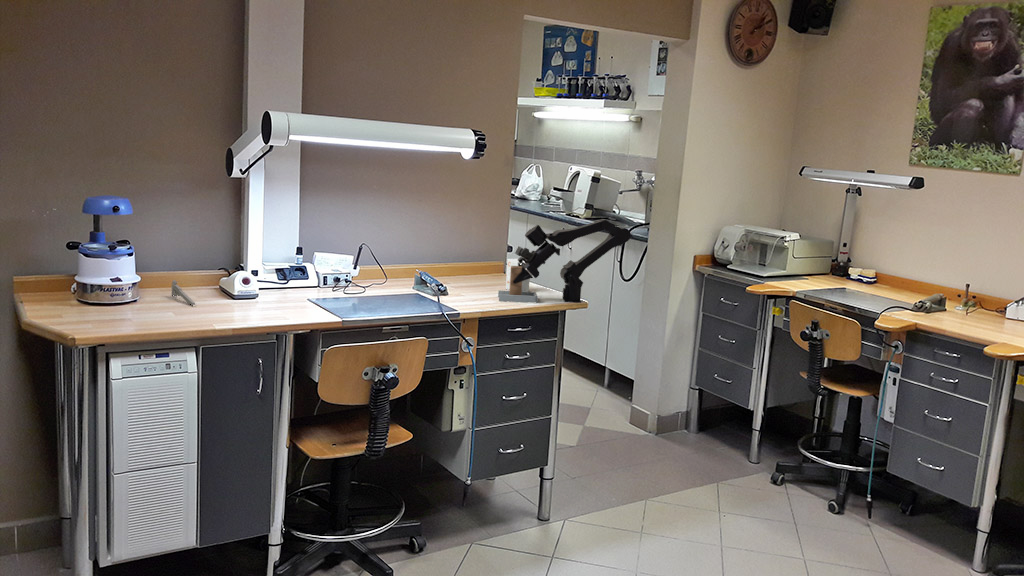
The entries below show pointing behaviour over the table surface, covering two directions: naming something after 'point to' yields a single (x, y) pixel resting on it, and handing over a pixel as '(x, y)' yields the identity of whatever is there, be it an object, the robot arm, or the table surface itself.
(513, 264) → the small box
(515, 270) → the walnut block
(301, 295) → the table surface
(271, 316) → the table surface
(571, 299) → the robot arm
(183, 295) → the caliper
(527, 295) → the channel
